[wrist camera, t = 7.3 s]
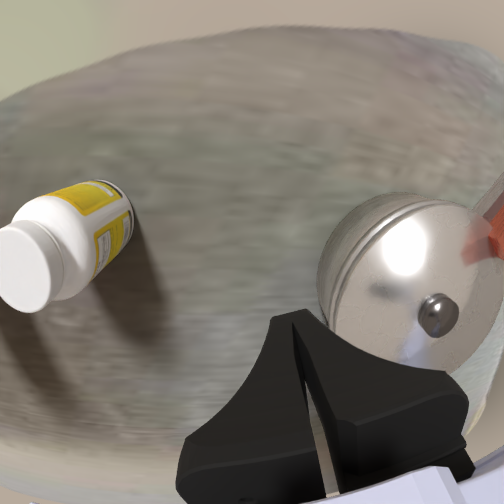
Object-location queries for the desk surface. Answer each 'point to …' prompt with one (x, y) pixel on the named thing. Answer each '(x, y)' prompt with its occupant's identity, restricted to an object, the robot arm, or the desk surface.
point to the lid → (425, 287)
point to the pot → (368, 224)
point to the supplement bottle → (62, 243)
